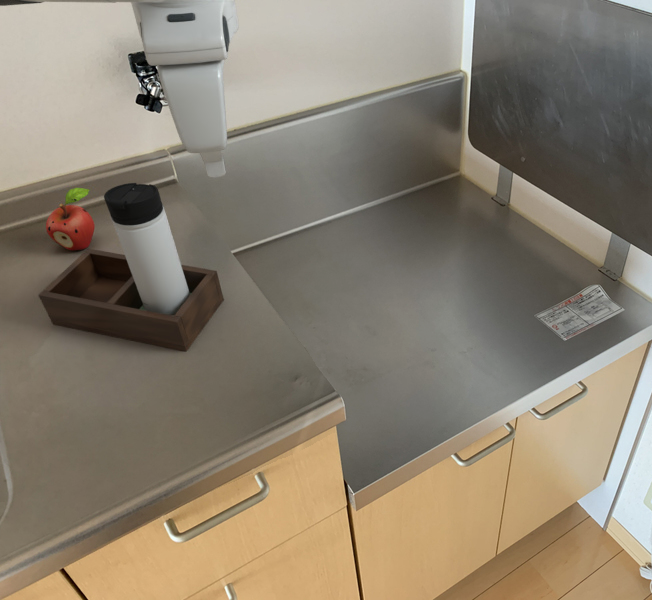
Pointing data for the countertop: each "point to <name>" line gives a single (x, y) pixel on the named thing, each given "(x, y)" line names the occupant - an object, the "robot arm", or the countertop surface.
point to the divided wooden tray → (127, 302)
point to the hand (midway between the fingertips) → (216, 151)
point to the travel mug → (148, 246)
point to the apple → (71, 223)
